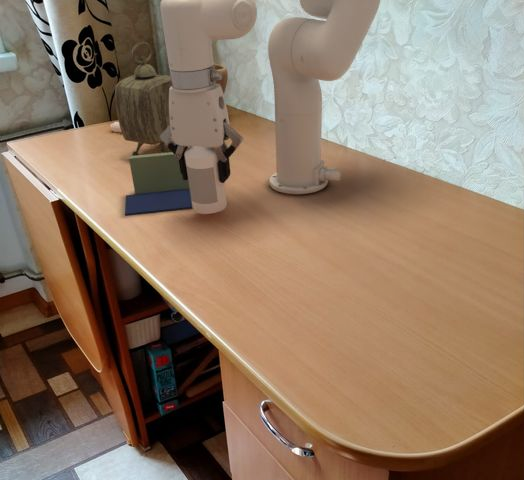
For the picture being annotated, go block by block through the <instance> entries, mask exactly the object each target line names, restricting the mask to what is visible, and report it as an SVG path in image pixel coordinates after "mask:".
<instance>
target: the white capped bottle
mask: <svg viewBox="0 0 524 480" xmlns="http://www.w3.org/2000/svg"><path fill="white" fill-rule="evenodd" d="M184 154H185V161H186V168H187V174H188V181H189V187H190V194H191V201H192V207H193V208H192V210H193V211H194V212H195V213H197V214H202V215H209V214H210V215H211V214H216V213H219V212H222V211H223V210H225V209H226V208H227V206H228V202H227V201H228V200H227V191H226V184H225V182H226V181H225V182H224V183H221V182H220V180H219V171H218V162H219V161H220V159H219V157H218V155H217V154H216V152H215V150H214V148H208V147H201V146H192V147H188V149H187V150H186V151H185V153H184Z"/></svg>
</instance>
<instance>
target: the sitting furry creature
mask: <svg viewBox="0 0 524 480" xmlns="http://www.w3.org/2000/svg"><path fill="white" fill-rule="evenodd" d="M109 126H110V130H111V131H112V132H114V133H120V134H122V132H121V129H120V125H119V121H114V122H112V123H110V125H109Z"/></svg>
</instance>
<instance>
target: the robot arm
mask: <svg viewBox="0 0 524 480" xmlns="http://www.w3.org/2000/svg"><path fill="white" fill-rule="evenodd" d="M299 4H300V7H301V8H302V10H303V11H304V12H305V13H306V14H307V15H309V16H311V17H314V18H309V17H300V16H292V17H291V16H290V17H286V18H284V19H281V20H279V22H278V23H276V24H275V25H274V26H273V29H272V30H271V32H270V34H269V37H268V42H267V55H268V60H269V66H270V70H271V76H272V81H273V82H272V83H273V96H274V128H275V130H274V131H275V168H276V169H275V170H276V172H275V173H273V174H272V175H271V176H270V177H269V186H270V188H271V189H273V190H275V191H276V192H279V193H282V194H286V195H287V194H288V195H307V194H312V193H316V192H319V191H321V190H323V189H324V188H325V187H327V185H328V181H334V182H340V179H341V171H338V168H337V167H327V166H326V165H325V160H323V159H322V132H323V131H322V129H323V128H322V125H323V124H322V123H323V92H322V87H321V84H320V81H324V82H335V81H337V80H339V79H341V78H342V77H343V76H345V75H346V73H347V72H348V71H349V69H350V68H351V66H352V64H353V62H354V61H355V59H356V56H357V55H358V52H359V51H360V49H361V47H362V44H363V42H364V40H365V38H366V36H367V34H368V32H369V30H370V29H371V25H372V24H373V22H374V21H375V18H376V16H377V12H378V10H379V8H380V4H381V0H299ZM159 9H160V18H161V23H162V31H163V37H164V43H165V50H166V57H167V62H168V69H169V76H171V83H172V86H171V87H170V88H169V119H170V125H169V126H168V127H167V128H166V130H165V131H164V132H163V133H162V134H161V135H160V139H161V140H162V141H163V142H164V143H165V146H167V149H168V150H170V152H173V153H174V154H175V157H176V159H178V160H179V166H180V172H181V174H182V177H183V180H187V179H188V174H187V168H186V161H185V154H184V153H185V151H186V150H187V149H188V148H189V147H192V146H201V147H208V148H214V150H215V152H216V154H217V155H218V157H219V159H220V161H219V162H218V171H219V180H220V182H221V183H224V182H226V181H227V180H228V179H229V178H230V176H231V163H230V157H231V156H232V155H234V153H235V151H236V150H237V149H238V148H239V147H240V145H241V144H242V142H243V141H244V137H243V136H242V135H241V134H240V133H239V132H238V131H237V130H235V129H234V128H233V127H232V126H231V123H230V118H229V113H228V107H227V102H226V98H225V93H224V94H223V91H222V88H221V85H220V84H216V81H217V80H221V79H222V72H221V71H217V70H215V65H214V64H215V63H214V55H213V45H212V42H213V41H223V40H237V39H240V38H243V37H244V36H246V35H248V34H249V33H250V32H251V31H252V30H253V28H254V26H255V25H256V21H257V18H258V7H257V5H256V1H255V0H161V1H160V5H159ZM315 18H316V19H315ZM171 134H172V137H171ZM227 140H228V141H229V140H231V144H230V145H229V146H228V145H227V143H226V141H227Z"/></svg>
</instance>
